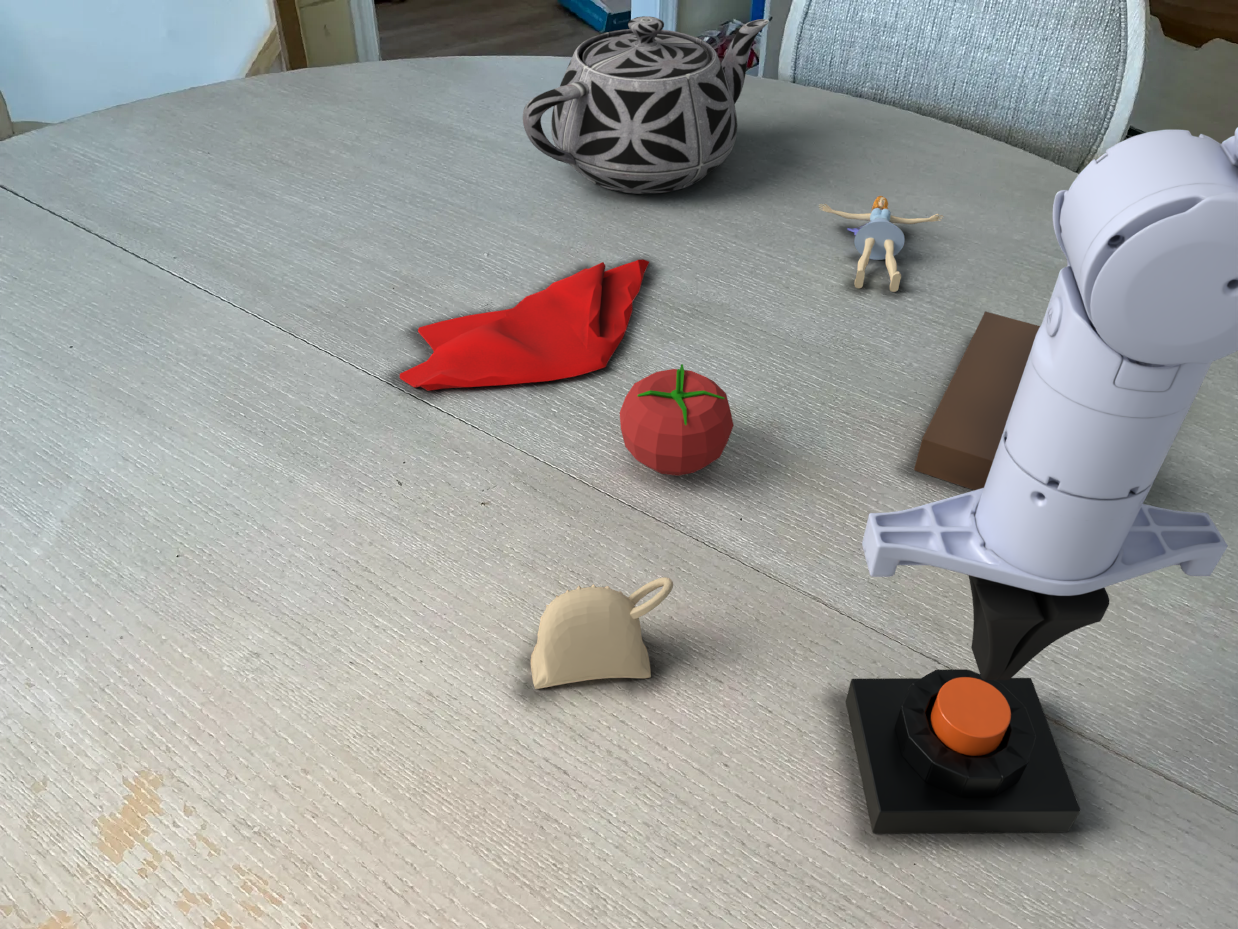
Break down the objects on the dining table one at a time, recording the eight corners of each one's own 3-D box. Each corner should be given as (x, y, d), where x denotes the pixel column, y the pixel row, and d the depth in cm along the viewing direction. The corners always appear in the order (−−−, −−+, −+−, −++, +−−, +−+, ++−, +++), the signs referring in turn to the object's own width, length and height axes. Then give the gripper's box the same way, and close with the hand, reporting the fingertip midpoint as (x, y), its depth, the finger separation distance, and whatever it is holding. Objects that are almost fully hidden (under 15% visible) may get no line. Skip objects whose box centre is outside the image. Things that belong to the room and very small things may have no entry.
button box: (1020, 700, 57) (1040, 657, 55) (1068, 833, 51) (1093, 791, 49) (845, 701, 57) (856, 658, 55) (872, 834, 51) (886, 793, 49)
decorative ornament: (529, 633, 61) (524, 574, 57) (667, 623, 61) (670, 564, 58) (531, 689, 58) (526, 630, 54) (676, 678, 58) (680, 619, 55)
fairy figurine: (815, 251, 87) (822, 174, 95) (808, 295, 91) (815, 217, 99) (952, 264, 86) (947, 185, 94) (939, 308, 89) (936, 228, 97)
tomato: (734, 429, 75) (743, 345, 70) (724, 502, 69) (733, 415, 64) (628, 417, 76) (629, 333, 71) (609, 488, 70) (609, 402, 65)
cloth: (446, 434, 75) (442, 409, 73) (370, 343, 83) (366, 320, 82) (723, 323, 85) (725, 300, 84) (632, 253, 94) (632, 231, 92)
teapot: (817, 157, 109) (838, 12, 99) (586, 244, 95) (582, 85, 85) (701, 100, 120) (710, -36, 110) (480, 170, 106) (466, 22, 96)
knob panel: (1154, 391, 79) (1169, 358, 77) (1113, 555, 66) (1130, 521, 64) (976, 341, 84) (985, 309, 81) (906, 485, 71) (915, 451, 68)
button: (991, 696, 53) (999, 676, 52) (1011, 756, 51) (1020, 736, 50) (923, 696, 53) (930, 676, 52) (939, 756, 51) (947, 737, 49)
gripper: (1218, 386, 42) (1110, 598, 51) (873, 386, 42) (826, 598, 51) (1303, 504, 37) (1167, 716, 46) (910, 505, 37) (851, 717, 46)
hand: (990, 662), depth 48 cm, fingers closed
